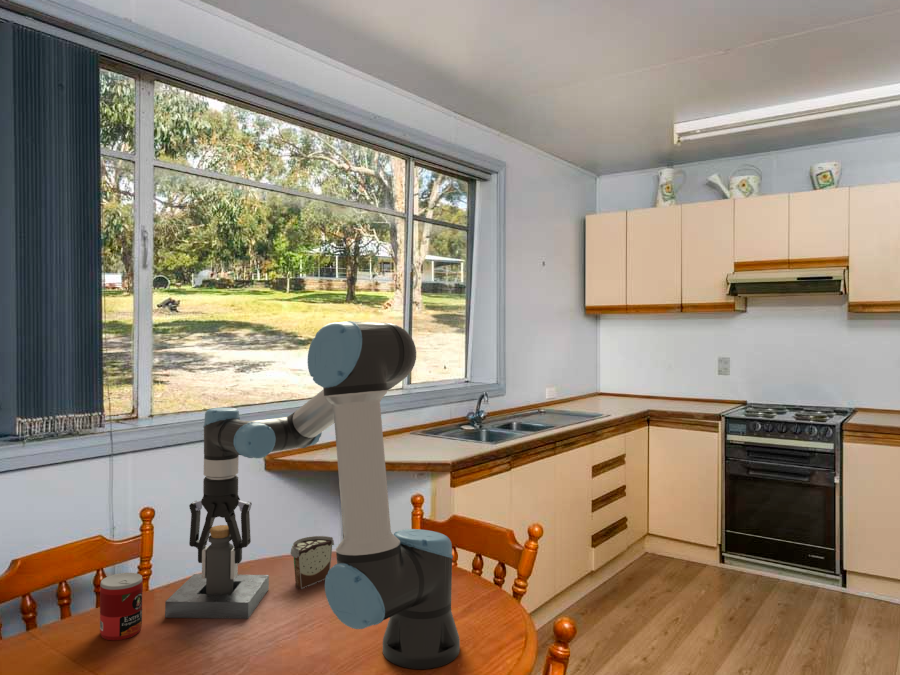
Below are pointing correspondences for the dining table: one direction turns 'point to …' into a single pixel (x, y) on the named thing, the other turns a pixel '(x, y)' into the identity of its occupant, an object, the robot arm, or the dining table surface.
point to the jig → (217, 598)
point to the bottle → (219, 561)
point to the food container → (311, 559)
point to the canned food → (121, 606)
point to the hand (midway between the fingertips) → (219, 576)
